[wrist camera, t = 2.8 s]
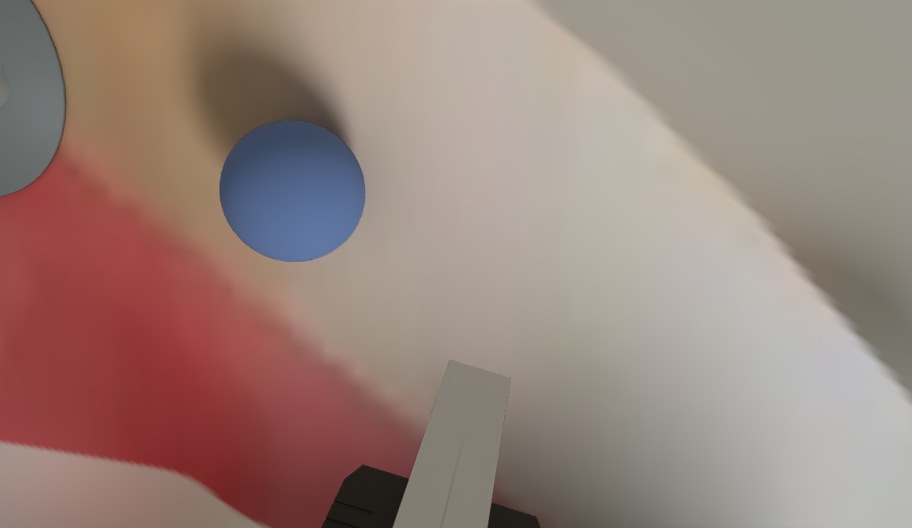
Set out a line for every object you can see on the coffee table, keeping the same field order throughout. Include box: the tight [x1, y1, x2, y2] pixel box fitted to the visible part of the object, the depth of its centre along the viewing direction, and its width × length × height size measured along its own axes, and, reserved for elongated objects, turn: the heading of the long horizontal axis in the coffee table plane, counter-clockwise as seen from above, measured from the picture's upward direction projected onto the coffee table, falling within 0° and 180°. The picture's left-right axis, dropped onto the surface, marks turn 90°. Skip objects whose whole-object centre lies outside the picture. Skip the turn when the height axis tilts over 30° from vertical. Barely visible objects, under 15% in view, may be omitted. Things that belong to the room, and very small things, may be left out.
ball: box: [220, 120, 365, 262], centre depth 27 cm, size 6×6×6 cm
